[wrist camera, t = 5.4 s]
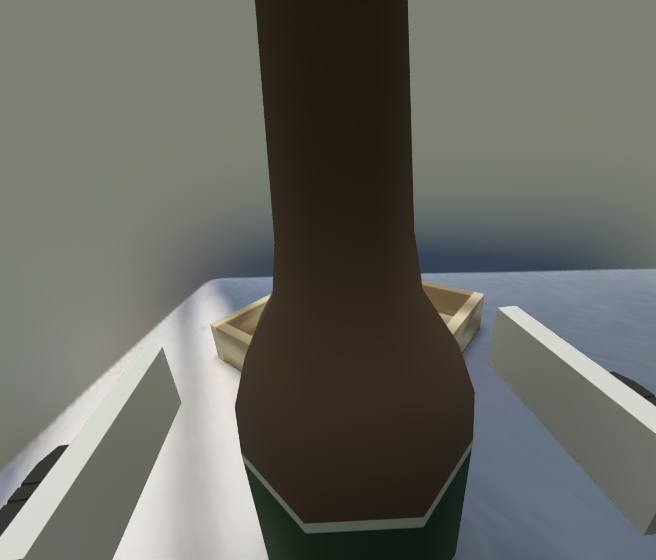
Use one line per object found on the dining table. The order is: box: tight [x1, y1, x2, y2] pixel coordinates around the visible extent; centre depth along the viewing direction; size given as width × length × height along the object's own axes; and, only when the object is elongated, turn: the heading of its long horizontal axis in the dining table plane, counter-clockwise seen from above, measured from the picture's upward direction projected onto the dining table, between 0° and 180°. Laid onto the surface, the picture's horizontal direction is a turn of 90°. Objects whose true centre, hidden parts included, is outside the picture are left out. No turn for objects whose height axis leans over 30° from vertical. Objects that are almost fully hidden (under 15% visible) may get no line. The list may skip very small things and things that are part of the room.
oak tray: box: [210, 281, 484, 371], centre depth 33 cm, size 20×20×4 cm
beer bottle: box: [235, 0, 475, 560], centre depth 11 cm, size 8×8×24 cm
